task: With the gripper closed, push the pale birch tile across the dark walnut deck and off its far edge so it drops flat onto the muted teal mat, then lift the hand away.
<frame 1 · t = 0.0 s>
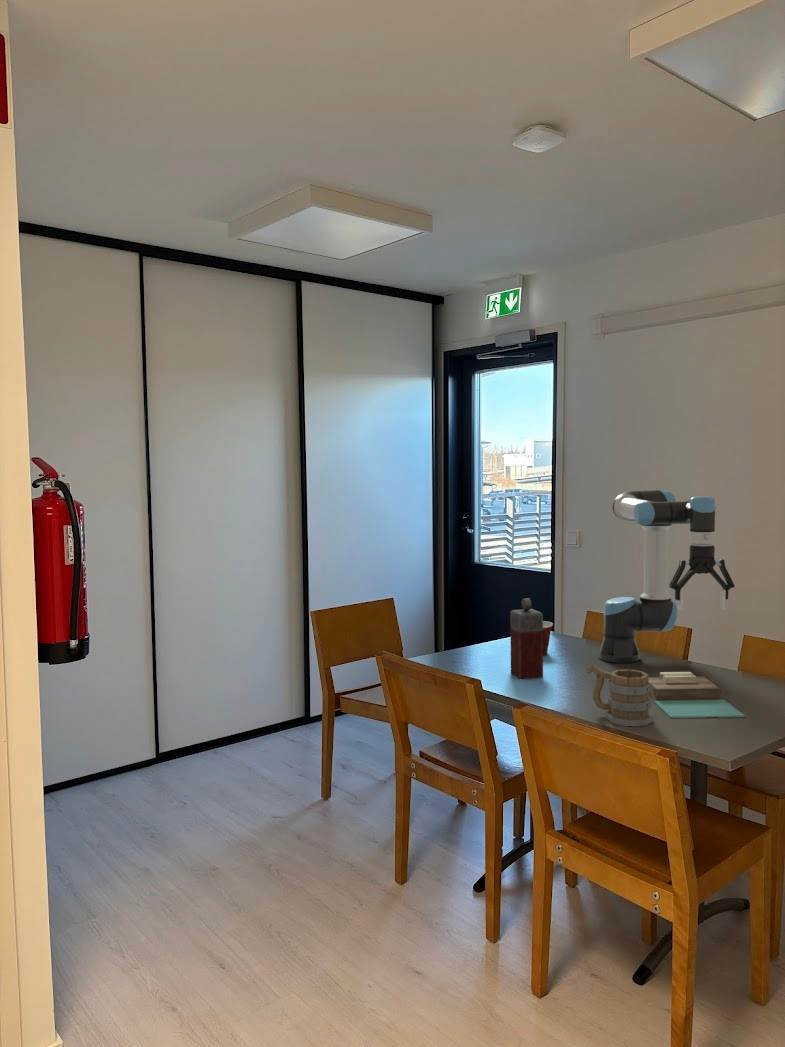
hand: (701, 610, 265), 28 cm above the table, tool pointing down, fingers open, 13 cm apart
mat: (697, 709, 252), on the table
tile: (677, 680, 270), point 4 cm above the table, touching deck
tankard: (617, 718, 246), on the table
deck: (680, 694, 268), on the table
toy vending machine: (529, 675, 295), on the table
plastic cup: (539, 653, 328), on the table
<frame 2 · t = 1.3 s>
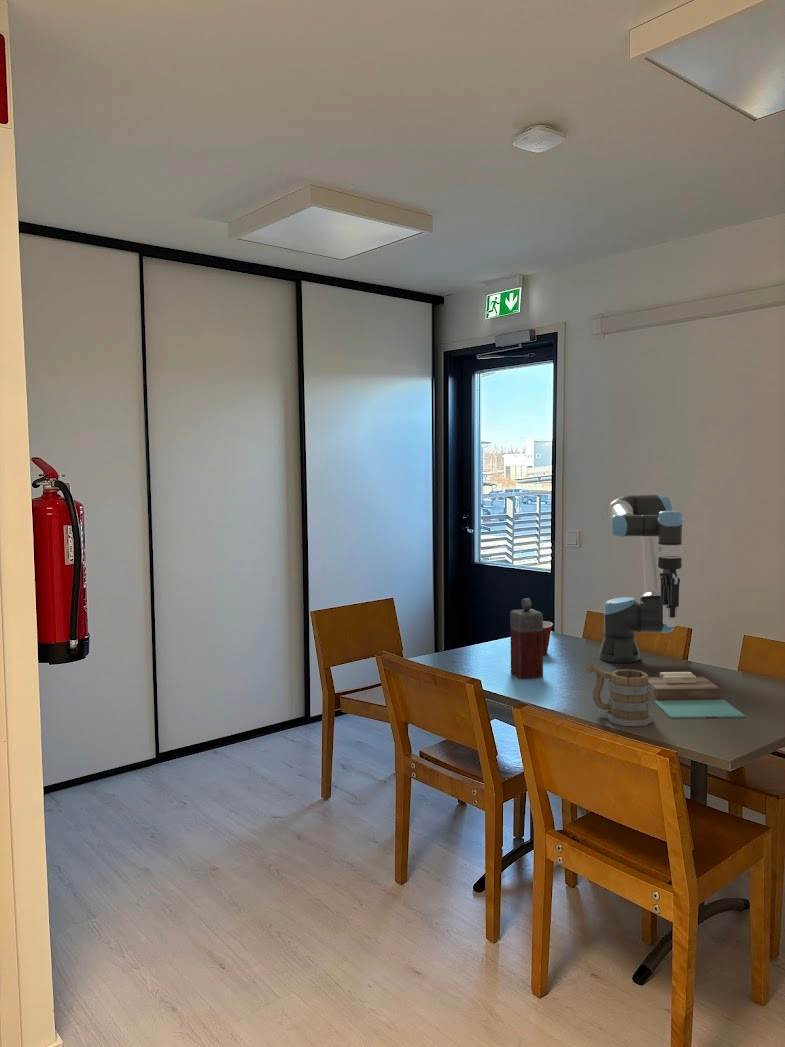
hand: (669, 625, 278), 21 cm above the table, tool pointing down, fingers open, 4 cm apart
nothing on the table moved.
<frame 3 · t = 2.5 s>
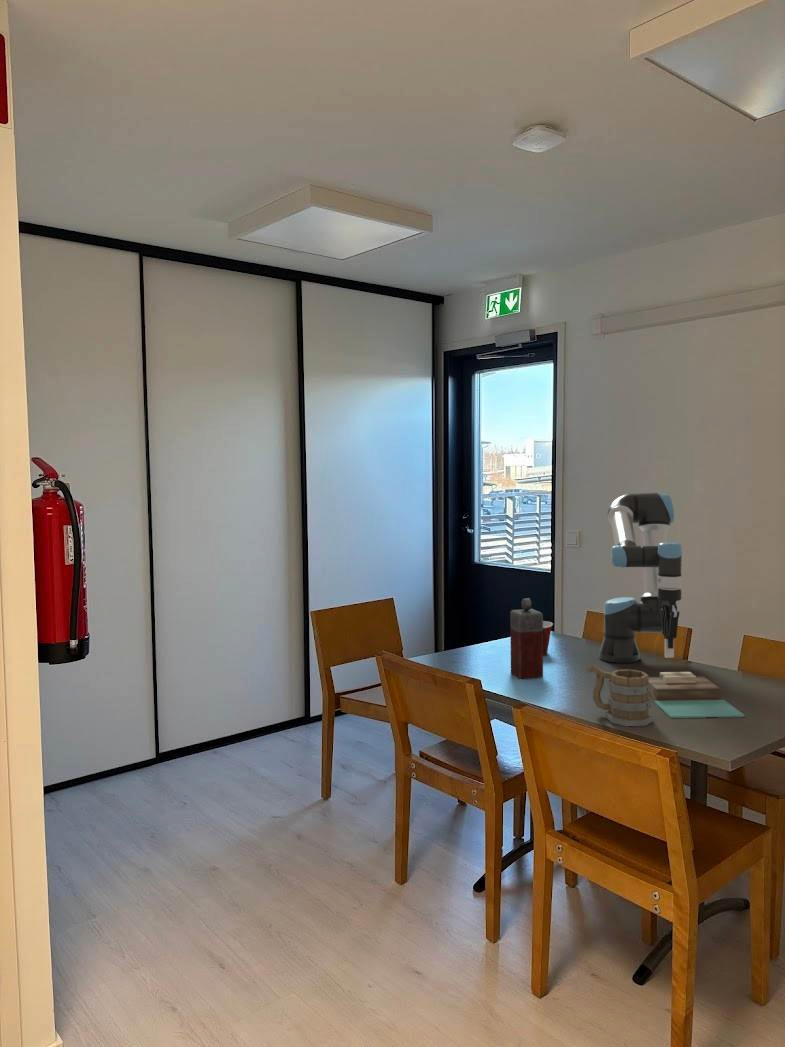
hand: (669, 657, 278), 10 cm above the table, tool pointing down, fingers closed
nothing on the table moved.
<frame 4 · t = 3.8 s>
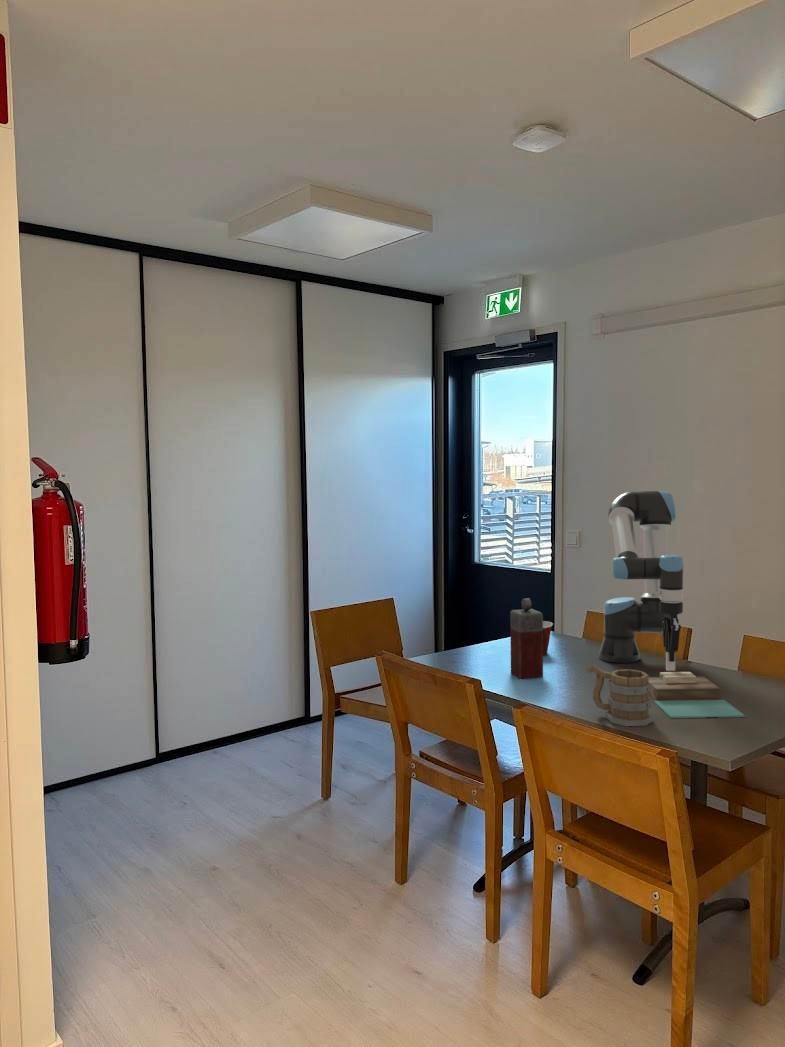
hand: (670, 670, 277), 6 cm above the table, tool pointing down, fingers closed
nothing on the table moved.
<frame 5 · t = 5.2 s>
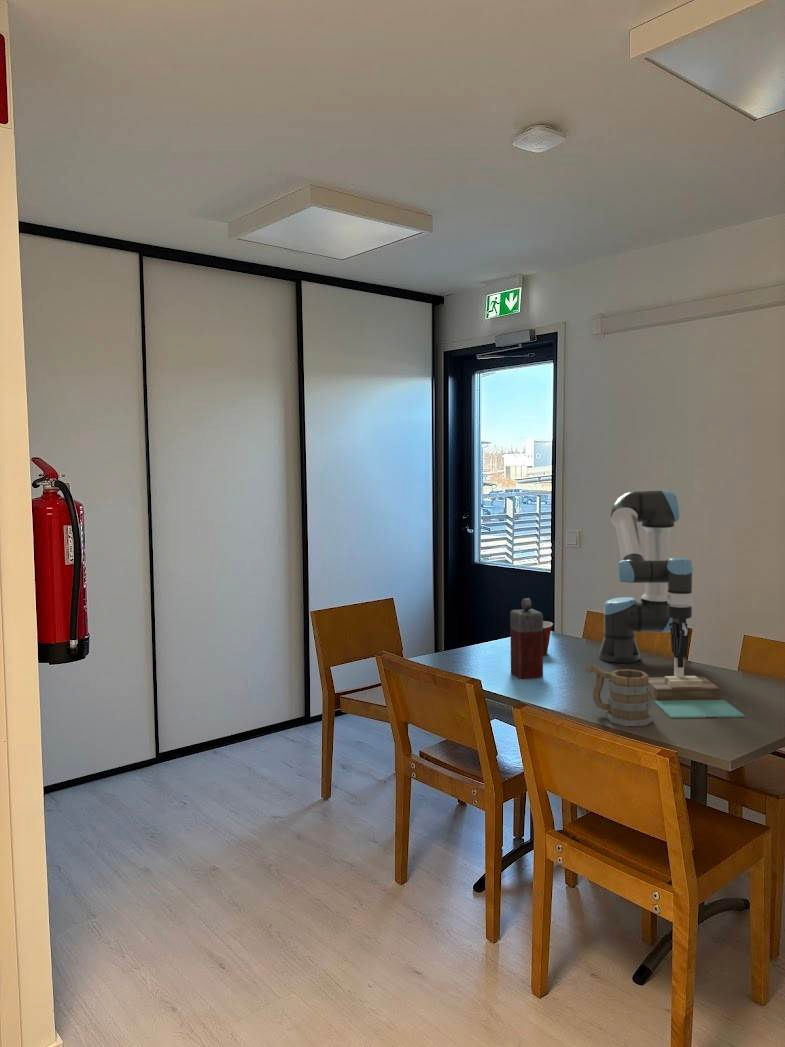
hand: (678, 676, 269), 6 cm above the table, tool pointing down, fingers closed
tile: (682, 684, 265), point 4 cm above the table, touching deck, gripper
everything else where it was.
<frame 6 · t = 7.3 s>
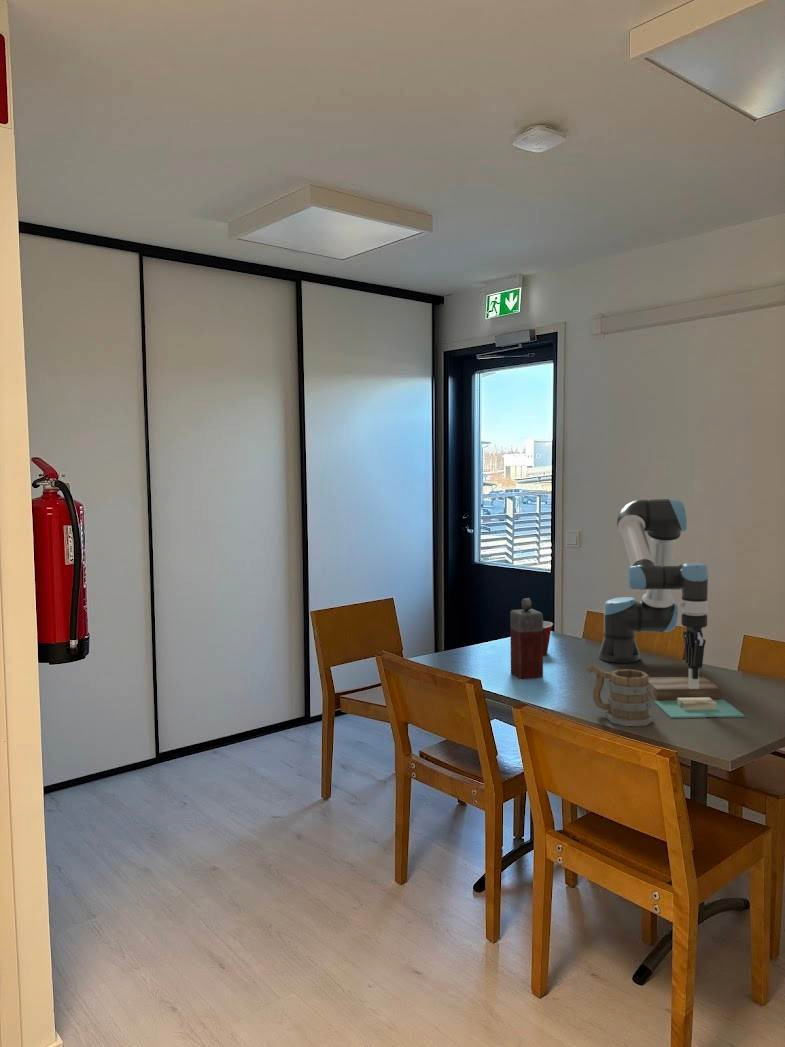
hand: (693, 688, 256), 6 cm above the table, tool pointing down, fingers closed
tile: (696, 700, 253), point 2 cm above the table, tilted 180°, touching mat
everything else where it was.
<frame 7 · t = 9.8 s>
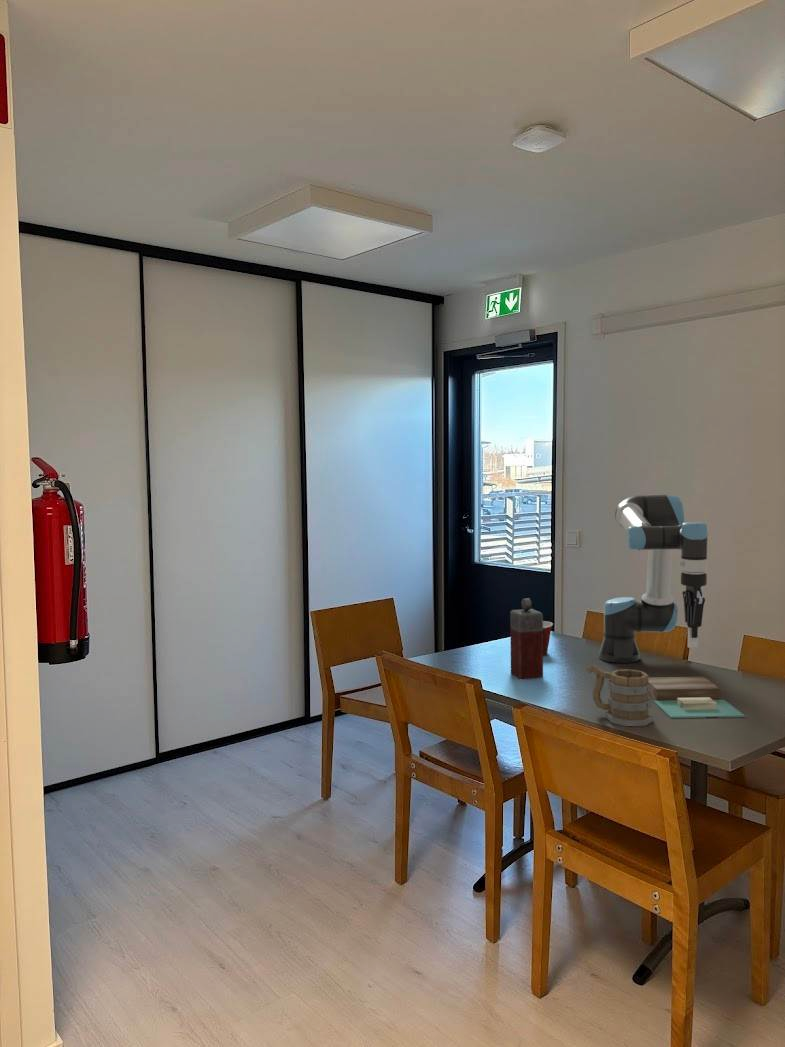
hand: (692, 647, 255), 18 cm above the table, tool pointing down, fingers closed
nothing on the table moved.
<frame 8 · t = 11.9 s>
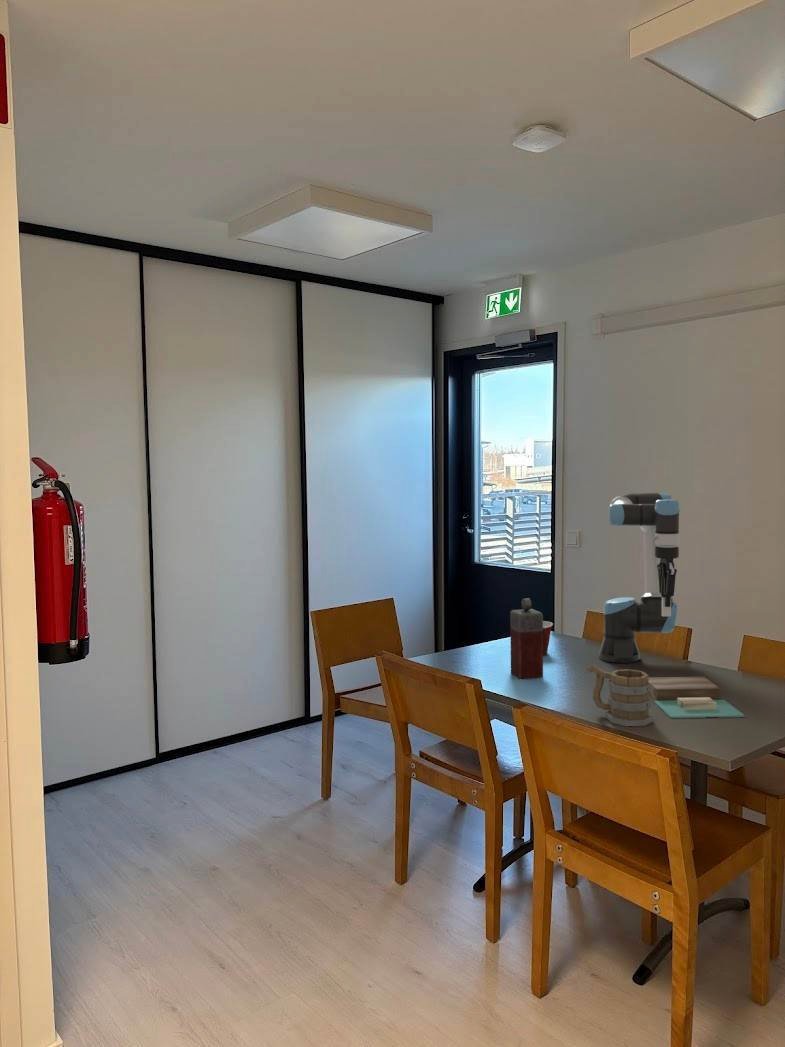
hand: (666, 615, 275), 24 cm above the table, tool pointing down, fingers closed
nothing on the table moved.
at the end: tile inside the target area (1.1 cm from its centre), point 2.5 cm above the table; tile point 2.5 cm above the table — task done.
